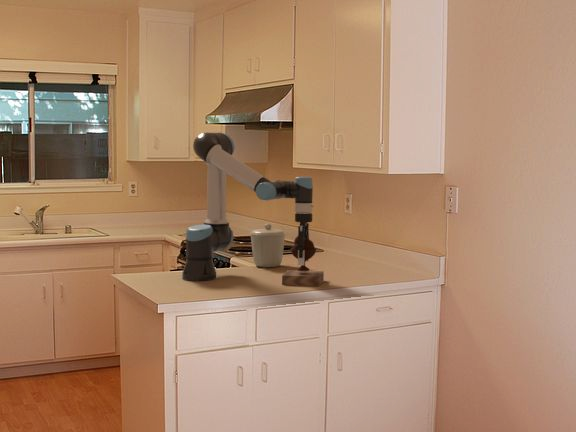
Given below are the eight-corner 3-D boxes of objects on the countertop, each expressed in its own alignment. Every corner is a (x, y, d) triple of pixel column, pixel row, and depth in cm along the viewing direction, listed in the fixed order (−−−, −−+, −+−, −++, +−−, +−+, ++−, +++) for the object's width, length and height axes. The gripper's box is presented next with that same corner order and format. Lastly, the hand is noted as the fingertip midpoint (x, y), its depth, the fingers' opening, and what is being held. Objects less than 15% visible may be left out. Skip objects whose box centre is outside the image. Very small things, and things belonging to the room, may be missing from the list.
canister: (264, 270, 367) (264, 226, 365) (242, 265, 381) (242, 223, 379) (293, 266, 378) (293, 223, 376) (270, 262, 392) (271, 220, 390)
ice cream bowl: (295, 272, 328) (295, 237, 326) (288, 268, 339) (288, 234, 337) (318, 271, 331) (319, 236, 329) (311, 267, 341) (311, 233, 340)
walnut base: (282, 284, 330) (282, 275, 329) (287, 279, 343) (287, 270, 343) (319, 286, 327) (319, 276, 327) (323, 280, 341) (323, 271, 340)
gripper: (308, 215, 320) (307, 267, 322) (316, 210, 343) (315, 259, 345) (290, 214, 321) (290, 267, 324) (299, 210, 344) (298, 258, 346)
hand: (303, 263), depth 334 cm, fingers closed on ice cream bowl, 11 cm apart
